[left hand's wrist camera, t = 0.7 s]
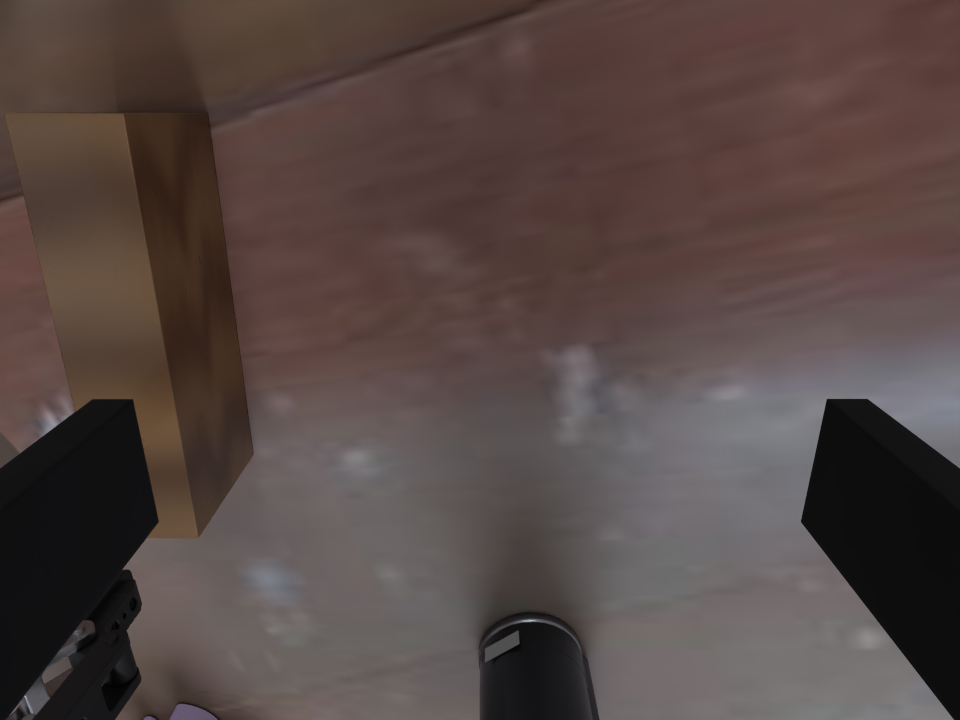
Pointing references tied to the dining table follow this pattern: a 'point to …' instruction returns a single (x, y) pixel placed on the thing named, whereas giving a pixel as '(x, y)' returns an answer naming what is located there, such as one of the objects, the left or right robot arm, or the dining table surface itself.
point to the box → (142, 290)
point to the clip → (188, 713)
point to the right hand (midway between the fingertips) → (43, 587)
